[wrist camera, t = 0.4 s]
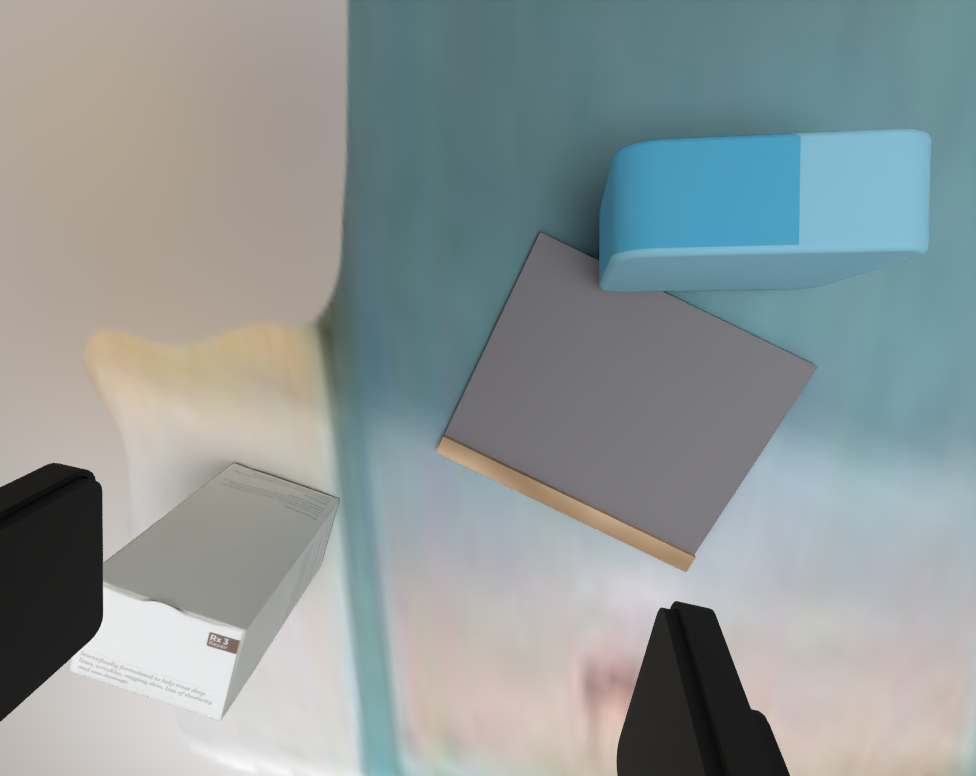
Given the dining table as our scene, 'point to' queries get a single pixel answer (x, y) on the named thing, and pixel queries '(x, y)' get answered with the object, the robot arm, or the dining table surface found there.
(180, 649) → the skincare box
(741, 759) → the robot arm
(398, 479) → the dining table surface
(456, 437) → the rubber mat
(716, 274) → the data package
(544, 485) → the oak strip
